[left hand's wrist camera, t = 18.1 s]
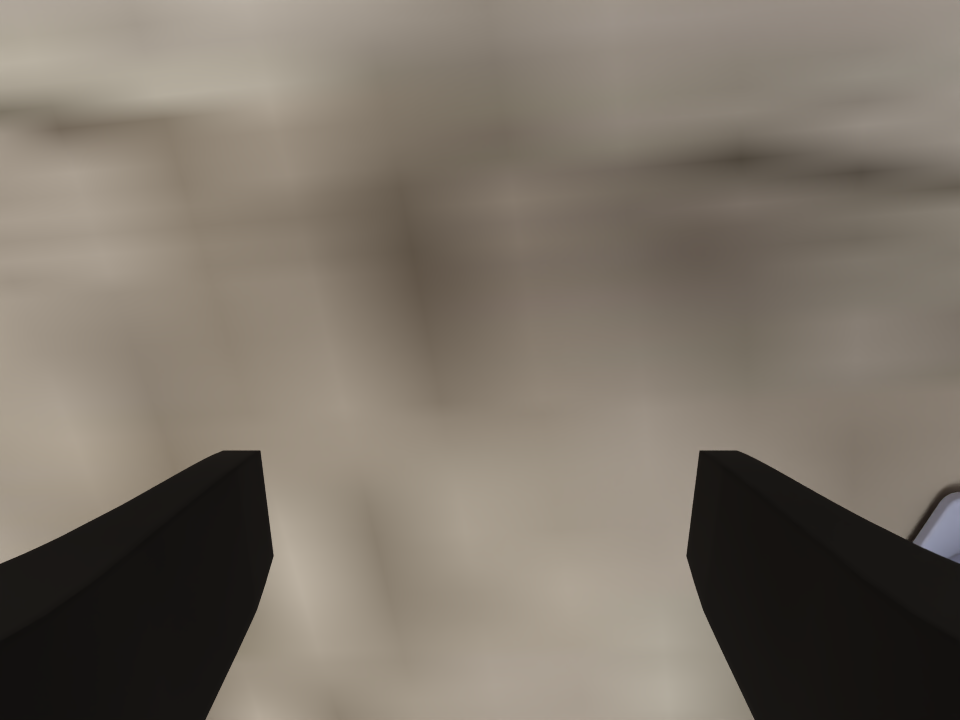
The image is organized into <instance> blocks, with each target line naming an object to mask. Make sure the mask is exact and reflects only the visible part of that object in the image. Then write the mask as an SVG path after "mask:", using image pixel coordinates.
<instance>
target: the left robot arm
mask: <svg viewBox="0 0 960 720" xmlns="http://www.w3.org/2000/svg"><path fill="white" fill-rule="evenodd" d="M272 560H273V548H272V540H271V532H270V524H269V516H268V508H267V500H266V492H265V484H264V476H263V468H262V460H261V452H260V451H221V452H219V453H216V454H214V455H212V456H210V457H207V458H206V459H204V460H202V461H200V462H198V463H196V464H194V465H192V466H190V467H189V468H187V469H185V470H183V471H181V472H180V473H178V474H176V475H174V476H173V477H171V478H169V479H167V480H166V481H164V482H162V483H160V484H158V485H157V486H155V487H153V488H151V489H150V490H148V491H146V492H144V493H142V494H141V495H139V496H137V497H135V498H134V499H132V500H130V501H128V502H126V503H125V504H123V505H121V506H119V507H117V508H115V509H113V510H111V511H109V512H107V513H106V514H104V515H102V516H100V517H98V518H96V519H94V520H92V521H90V522H88V523H86V524H84V525H82V526H80V527H78V528H77V529H75V530H73V531H71V532H69V533H67V534H65V535H63V536H61V537H59V538H57V539H55V540H53V541H51V542H49V543H46V544H44V545H42V546H40V547H38V548H36V549H33V550H31V551H29V552H27V553H25V554H22V555H20V556H18V557H15V558H13V559H11V560H8V561H6V562H4V563H1V564H0V720H205V719H206V717H207V715H208V713H209V711H210V709H211V707H212V705H213V703H214V700H215V698H216V696H217V694H218V692H219V690H220V688H221V686H222V684H223V682H224V679H225V677H226V675H227V673H228V671H229V669H230V667H231V665H232V663H233V661H234V658H235V656H236V654H237V652H238V650H239V648H240V646H241V643H242V641H243V639H244V637H245V635H246V633H247V631H248V628H249V626H250V624H251V622H252V620H253V617H254V615H255V613H256V611H257V608H258V605H259V602H260V599H261V596H262V593H263V590H264V587H265V583H266V580H267V577H268V573H269V570H270V566H271V563H272ZM687 560H688V563H689V566H690V570H691V573H692V577H693V580H694V583H695V587H696V590H697V593H698V596H699V599H700V602H701V605H702V608H703V611H704V613H705V615H706V617H707V620H708V622H709V624H710V626H711V628H712V631H713V633H714V635H715V637H716V639H717V641H718V643H719V646H720V648H721V650H722V652H723V654H724V656H725V658H726V661H727V663H728V665H729V667H730V669H731V671H732V673H733V675H734V677H735V679H736V682H737V684H738V686H739V688H740V690H741V692H742V694H743V696H744V698H745V700H746V703H747V705H748V707H749V709H750V711H751V713H752V715H753V717H754V719H755V720H960V492H955V493H951V494H949V495H947V496H945V497H944V498H943V499H942V500H941V501H940V503H939V504H938V506H937V507H936V509H935V510H934V511H933V513H932V514H931V516H930V517H929V519H928V520H927V522H926V523H925V525H924V526H923V528H922V529H921V531H920V532H919V534H918V535H917V537H916V538H915V540H914V541H913V543H912V542H910V541H908V540H906V539H904V538H902V537H900V536H898V535H896V534H894V533H892V532H890V531H888V530H886V529H884V528H882V527H880V526H878V525H876V524H874V523H872V522H870V521H868V520H866V519H864V518H862V517H860V516H858V515H856V514H854V513H853V512H851V511H849V510H847V509H845V508H843V507H841V506H840V505H838V504H836V503H834V502H832V501H830V500H829V499H827V498H825V497H823V496H822V495H820V494H818V493H816V492H814V491H813V490H811V489H809V488H807V487H806V486H804V485H802V484H800V483H798V482H797V481H795V480H793V479H791V478H790V477H788V476H786V475H784V474H783V473H781V472H779V471H777V470H775V469H774V468H772V467H770V466H768V465H766V464H764V463H763V462H761V461H759V460H757V459H755V458H753V457H751V456H749V455H747V454H744V453H742V452H739V451H700V452H699V460H698V468H697V476H696V484H695V492H694V500H693V508H692V516H691V524H690V532H689V540H688V548H687Z"/></svg>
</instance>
